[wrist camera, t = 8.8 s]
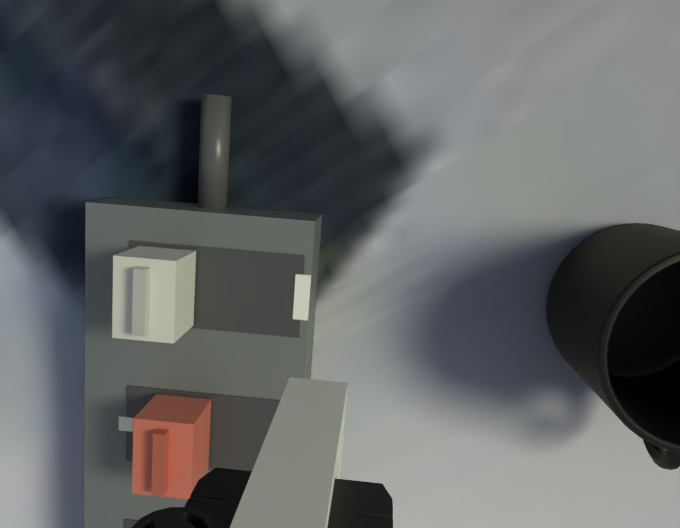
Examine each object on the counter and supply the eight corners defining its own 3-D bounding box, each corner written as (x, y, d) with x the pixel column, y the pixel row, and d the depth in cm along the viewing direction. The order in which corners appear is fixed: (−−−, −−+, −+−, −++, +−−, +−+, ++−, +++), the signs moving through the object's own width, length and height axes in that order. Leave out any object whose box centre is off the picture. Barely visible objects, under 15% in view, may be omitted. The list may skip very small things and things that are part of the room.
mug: (542, 425, 37) (593, 511, 28) (545, 225, 35) (602, 248, 26) (707, 424, 36) (812, 510, 28) (719, 219, 34) (838, 241, 26)
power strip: (116, 90, 35) (81, 82, 31) (329, 106, 35) (323, 100, 31) (109, 566, 41) (79, 612, 36) (295, 586, 40) (285, 636, 36)
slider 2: (156, 393, 34) (128, 423, 30) (211, 399, 33) (189, 429, 30) (154, 462, 34) (127, 499, 31) (208, 468, 34) (187, 506, 30)
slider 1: (139, 245, 32) (107, 257, 29) (196, 250, 32) (172, 263, 28) (137, 320, 33) (106, 341, 29) (193, 325, 33) (169, 347, 29)
